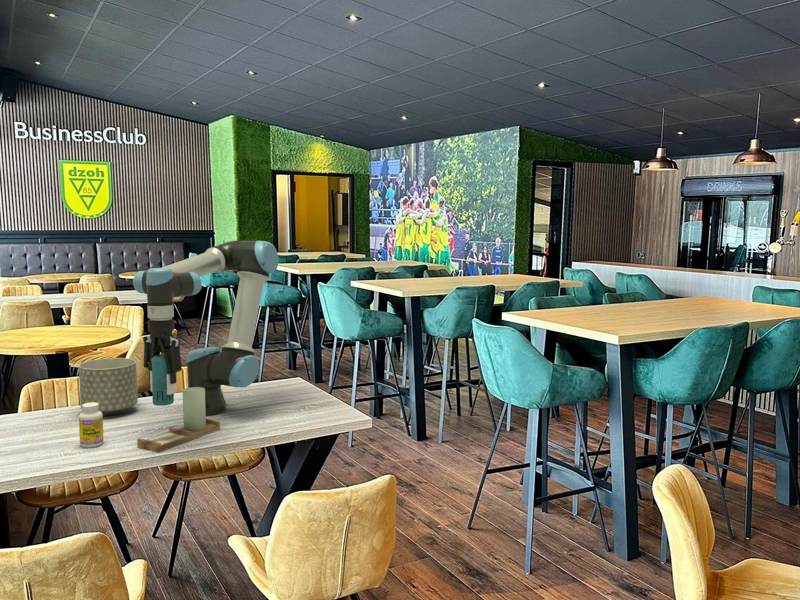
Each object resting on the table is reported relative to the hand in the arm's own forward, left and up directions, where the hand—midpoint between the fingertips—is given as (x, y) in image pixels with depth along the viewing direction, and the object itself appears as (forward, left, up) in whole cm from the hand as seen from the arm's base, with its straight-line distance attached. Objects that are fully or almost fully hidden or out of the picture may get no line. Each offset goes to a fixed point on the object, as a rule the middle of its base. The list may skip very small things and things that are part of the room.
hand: (163, 392), depth 202 cm
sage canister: (0, +13, -15) cm, 20 cm away
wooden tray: (0, +6, -17) cm, 18 cm away
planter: (-44, +14, -17) cm, 49 cm away
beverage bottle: (0, 0, -5) cm, 5 cm away
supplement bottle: (-19, -12, -17) cm, 28 cm away
